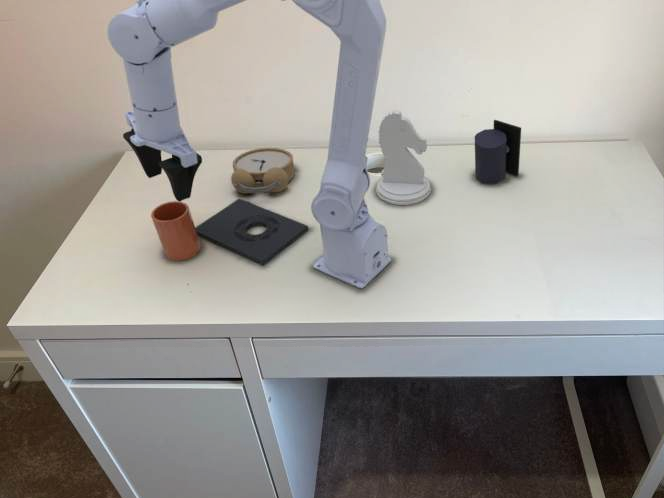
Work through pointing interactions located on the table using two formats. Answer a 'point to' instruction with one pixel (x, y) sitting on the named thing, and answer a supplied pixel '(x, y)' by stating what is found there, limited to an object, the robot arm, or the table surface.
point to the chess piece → (401, 162)
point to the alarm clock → (262, 170)
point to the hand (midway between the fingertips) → (168, 186)
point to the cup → (176, 230)
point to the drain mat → (240, 217)
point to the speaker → (497, 152)
